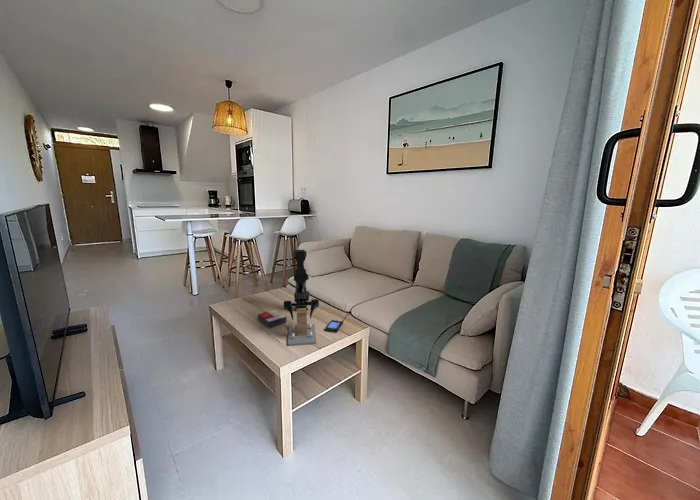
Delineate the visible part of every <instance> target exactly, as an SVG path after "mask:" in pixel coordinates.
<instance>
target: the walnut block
mask: <svg viewBox="0 0 700 500" xmlns="http://www.w3.org/2000/svg"><path fill="white" fill-rule="evenodd" d="M307 317H308V315H307V310H306V308H300V309H297V310H296V325H297V336H303V335H307V322H308V320H307V319H308V318H307Z"/></svg>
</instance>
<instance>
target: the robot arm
mask: <svg viewBox="0 0 700 500" xmlns="http://www.w3.org/2000/svg"><path fill="white" fill-rule="evenodd" d="M292 255H293V258H294V261H295V262H296V268H295V270H294V274H293V282H294V283H295V292H294V295H293V296H294V297H293V298H294V302H292V300H284V301H283V309H284V310H286V311H288V312H289V315H290V318H291V320H292V321H294V313H293V307H294V310H295V311H297V309H300V308H306V311H307V310H309V307H308V306H310V313H309V319H310V320H311V319H312V316H313V313H314V310H316V309H317V308H319V305H320V304H319V303H320V301H319V299H318V298H315V299H314V298H313V299H311V301H309V300H310V291H309V290H308V291H307V289H308V288H307V281H308V280H309V275H308V273H307V270H306V269H305V267H304V264H305V262H306V258H307V256H308V255H307V250H305V249H295V250H294V251H293V254H292Z"/></svg>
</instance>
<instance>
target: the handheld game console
mask: <svg viewBox="0 0 700 500" xmlns="http://www.w3.org/2000/svg"><path fill="white" fill-rule="evenodd" d="M349 313H350V312H347V314H346V315H345V316H344V318H343V320H335V319H332V320H330V321H329V323H328V324H327V325H326V326H325V328H324V332H328V333H329V332H330V333H335V334H337V333H338V332H339V330H340V328H341V327H342V325H343V324H344V321H345V319H346V318H347V317H348V316H349Z"/></svg>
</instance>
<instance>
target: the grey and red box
mask: <svg viewBox="0 0 700 500" xmlns="http://www.w3.org/2000/svg"><path fill="white" fill-rule="evenodd" d="M257 320H258V321H260V322H261V323H263V324H264V325H265V326H266V327H267V328H268V329H270V328H274V327H277V326H280V325H283V324H286V323H287V317H286V316H285V315H284V314H282V313H281V312H278V311H277V310H276V309H272V310H269V311H265V312H261V313H258V314H257Z"/></svg>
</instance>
